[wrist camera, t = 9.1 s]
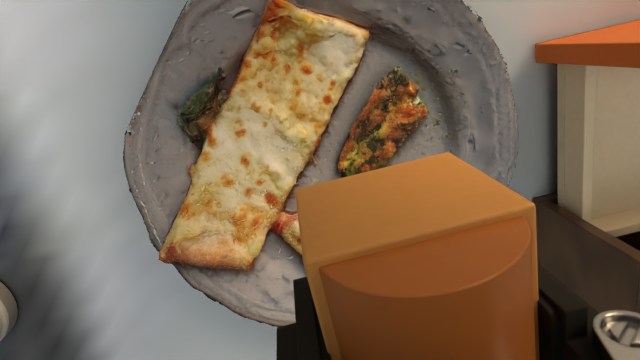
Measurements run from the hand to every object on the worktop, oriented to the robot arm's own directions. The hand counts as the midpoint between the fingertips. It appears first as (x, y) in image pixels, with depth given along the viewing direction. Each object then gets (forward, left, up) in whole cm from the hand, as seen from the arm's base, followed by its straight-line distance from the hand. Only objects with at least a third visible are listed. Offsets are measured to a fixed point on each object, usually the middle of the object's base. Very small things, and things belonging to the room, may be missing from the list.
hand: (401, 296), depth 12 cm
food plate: (0, -1, -16) cm, 16 cm away
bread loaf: (0, 0, -1) cm, 1 cm away
